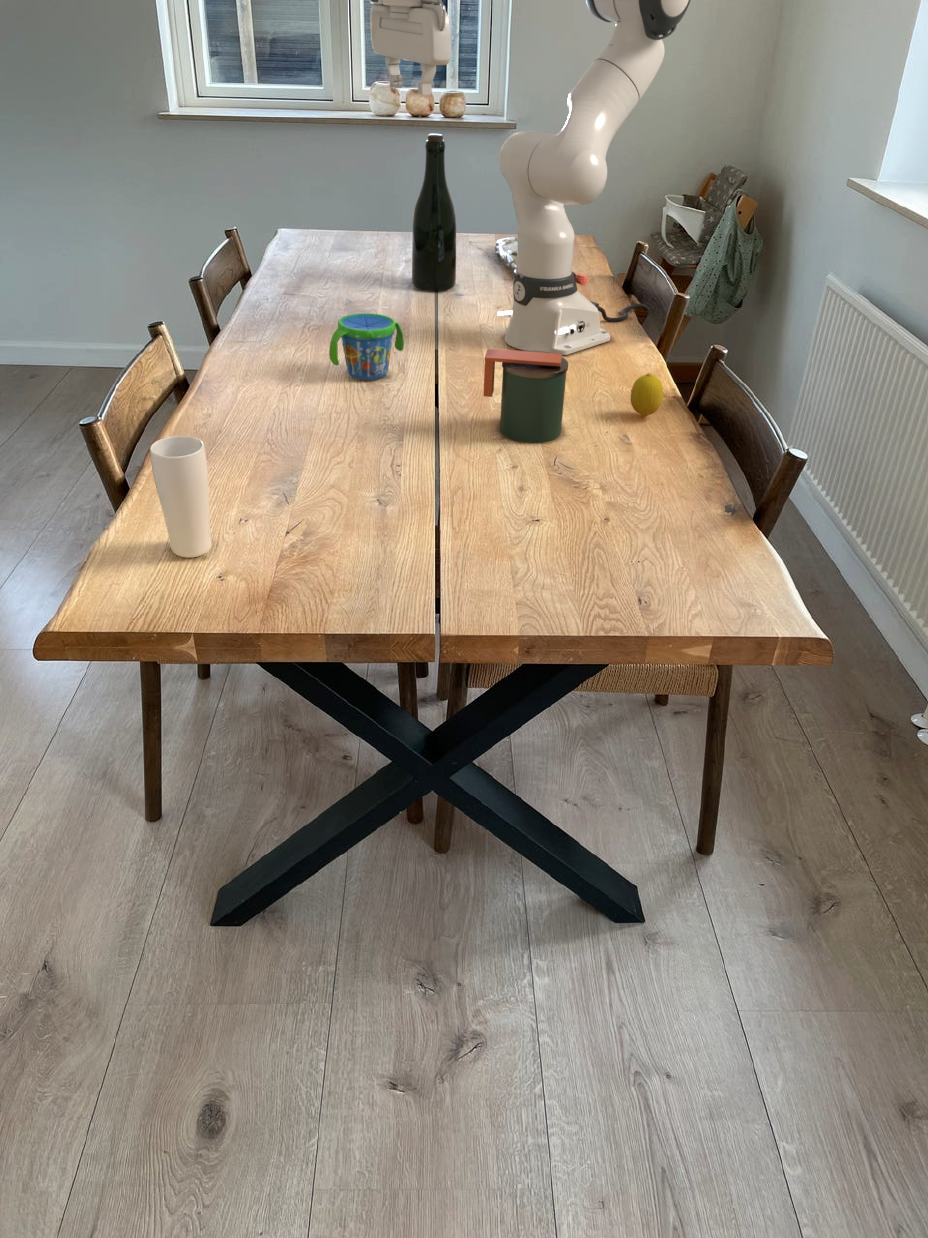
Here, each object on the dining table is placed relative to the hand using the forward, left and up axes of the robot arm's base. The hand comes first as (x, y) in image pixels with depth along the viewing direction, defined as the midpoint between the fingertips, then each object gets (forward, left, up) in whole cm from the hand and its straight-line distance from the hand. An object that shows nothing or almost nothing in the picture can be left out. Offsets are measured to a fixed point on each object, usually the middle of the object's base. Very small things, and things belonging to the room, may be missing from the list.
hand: (410, 90), depth 165 cm
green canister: (-3, +36, -48) cm, 59 cm away
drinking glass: (+60, +46, -48) cm, 89 cm away
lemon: (-24, +41, -48) cm, 67 cm away
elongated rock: (-61, -51, -48) cm, 93 cm away
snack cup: (+9, 0, -48) cm, 49 cm away
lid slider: (-2, +34, -41) cm, 54 cm away
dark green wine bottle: (-32, -44, -48) cm, 73 cm away
